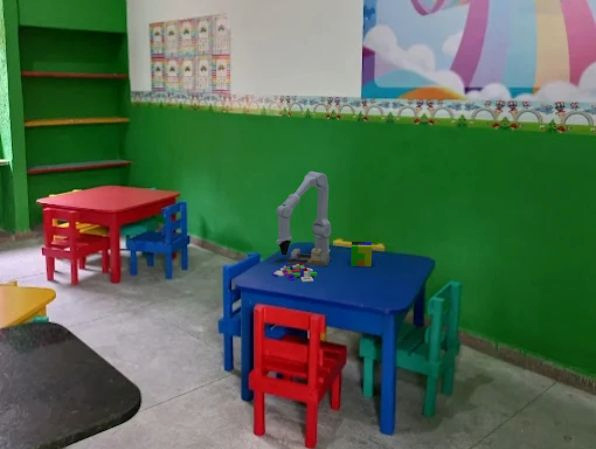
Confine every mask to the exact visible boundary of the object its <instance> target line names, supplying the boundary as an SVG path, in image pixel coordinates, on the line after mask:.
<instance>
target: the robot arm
mask: <svg viewBox="0 0 596 449" xmlns="http://www.w3.org/2000/svg"><path fill="white" fill-rule="evenodd" d="M313 187H315V188H316V189H317V204H316V205H317V207H316V208H317V209H316V219H315V220H313V224H312V228H311V231H312V234H313V235H314V249H322V252H323V250H326V251H329V253H330V252H331V249H330V246H329V245H330V239H329V238H330V236H331V234H332V228H331V222H330V221H329V220H328V210H329V209H328V208H329V191H330V190H329V189H330V186H329V182H328V176H327V175H326V174H325V173H323V172H317V171H312V170H311V171H308V173H307V174H306V175H304V179H303V181H302V183H301V184H300V185H299V187H298V188H297V190H296V191H295V192H294V193H291V194H289V195H288V197H287V198H286V200H285V201H284V202H283V203H282V204H280V205H279V206H278V207H277V208H276V211H275V214H276V215H277V218H278V237H277V240H276V241H275V243H276V245H277V246H279V248H280V252H281V255H282V256H286V255H288V250H289V247H290V245H291V242H292V241H291V240H293V234H291V228H290V227H291V217H292V215H293V211H294V209H295V208H296V207H297V205H299V203H300V202H301V200H300V199H301V197H302V196H303V195H304V194H305V193H306V192H307V191H308V190H309V189H310V188H313Z"/></svg>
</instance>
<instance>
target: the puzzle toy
mask: <svg viewBox="0 0 596 449" xmlns="http://www.w3.org/2000/svg"><path fill="white" fill-rule="evenodd" d="M372 245H373V244H372V241H351V250H350V251H351V252H350V254H351V255H350V257H351V258H350V266H351V267H372V258H373V257H372V256H373V255H372V254H373V253H372V252H373V248H372V247H373V246H372Z"/></svg>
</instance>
